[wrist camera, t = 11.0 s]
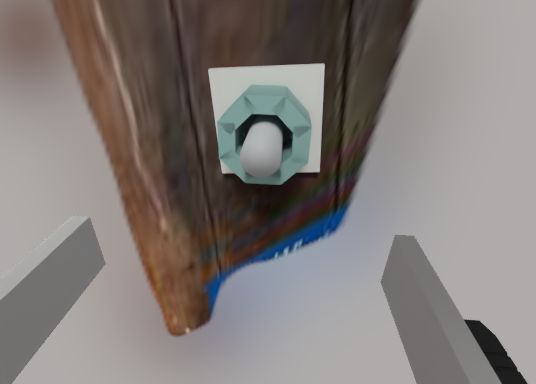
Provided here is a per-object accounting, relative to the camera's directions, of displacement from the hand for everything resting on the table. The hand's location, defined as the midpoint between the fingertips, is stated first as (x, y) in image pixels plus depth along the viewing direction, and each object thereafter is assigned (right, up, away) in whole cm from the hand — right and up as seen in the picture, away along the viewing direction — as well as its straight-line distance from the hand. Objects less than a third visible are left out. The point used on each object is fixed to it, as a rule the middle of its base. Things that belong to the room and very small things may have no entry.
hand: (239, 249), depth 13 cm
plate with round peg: (+1, +10, +18) cm, 21 cm away
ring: (+1, +9, +17) cm, 19 cm away
